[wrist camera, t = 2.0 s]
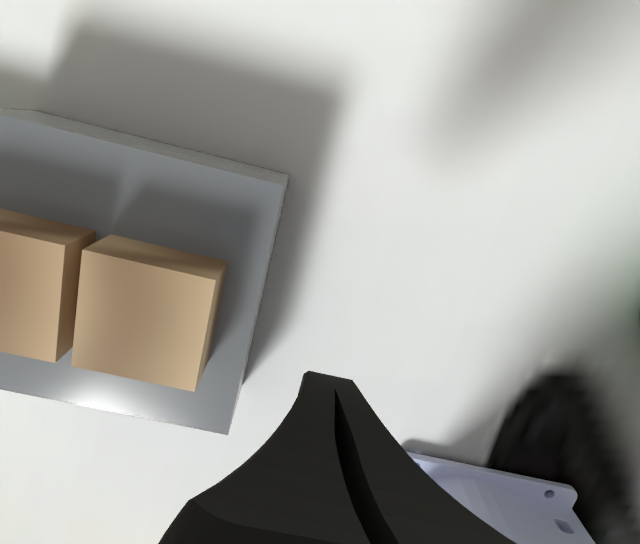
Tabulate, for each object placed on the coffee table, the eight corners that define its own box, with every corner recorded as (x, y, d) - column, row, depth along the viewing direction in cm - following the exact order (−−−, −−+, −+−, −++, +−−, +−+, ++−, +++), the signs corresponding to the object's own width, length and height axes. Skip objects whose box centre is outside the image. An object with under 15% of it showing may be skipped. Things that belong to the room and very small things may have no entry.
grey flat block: (289, 174, 18) (283, 185, 15) (241, 386, 21) (227, 435, 18) (35, 110, 17) (-32, 106, 14) (22, 340, 20) (-36, 381, 17)
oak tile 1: (228, 261, 16) (215, 280, 14) (208, 362, 17) (194, 391, 15) (110, 234, 15) (81, 249, 13) (99, 338, 16) (71, 366, 15)
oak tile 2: (96, 230, 15) (64, 245, 13) (85, 335, 16) (55, 363, 15) (-27, 201, 15) (-77, 213, 13) (-29, 311, 16) (-75, 335, 14)
